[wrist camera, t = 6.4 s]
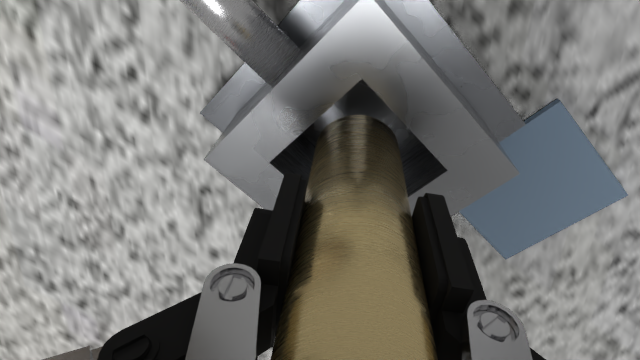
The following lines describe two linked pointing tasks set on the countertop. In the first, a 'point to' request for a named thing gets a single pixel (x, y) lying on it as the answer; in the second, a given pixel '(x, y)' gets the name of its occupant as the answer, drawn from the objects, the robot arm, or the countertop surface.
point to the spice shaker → (355, 256)
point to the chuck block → (355, 95)
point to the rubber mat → (544, 184)
